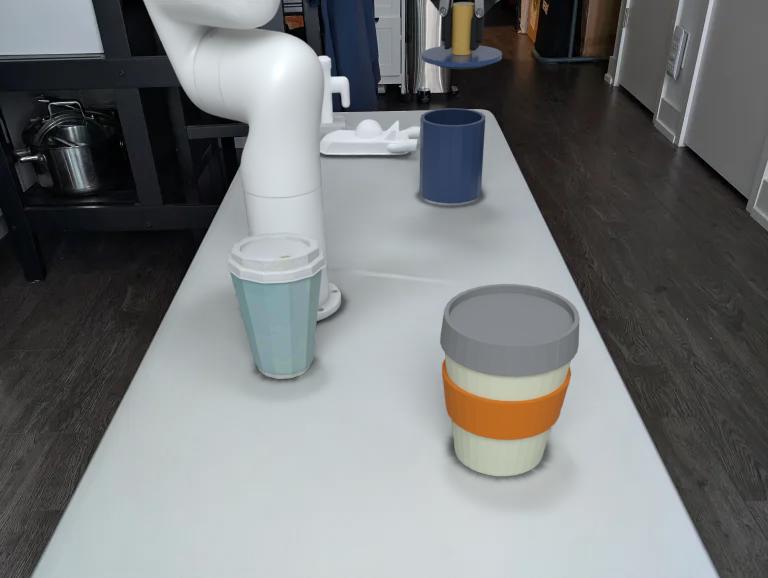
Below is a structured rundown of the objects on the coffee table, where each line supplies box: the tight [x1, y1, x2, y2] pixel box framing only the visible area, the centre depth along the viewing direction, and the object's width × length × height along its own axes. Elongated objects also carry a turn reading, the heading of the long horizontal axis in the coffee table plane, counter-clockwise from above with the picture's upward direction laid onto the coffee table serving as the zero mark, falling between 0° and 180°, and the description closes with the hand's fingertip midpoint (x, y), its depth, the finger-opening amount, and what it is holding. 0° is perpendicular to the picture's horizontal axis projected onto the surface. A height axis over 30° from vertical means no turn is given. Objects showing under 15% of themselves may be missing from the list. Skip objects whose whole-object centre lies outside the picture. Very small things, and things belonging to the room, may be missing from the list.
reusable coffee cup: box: [439, 283, 580, 477], centre depth 76 cm, size 13×12×15 cm
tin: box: [419, 107, 486, 205], centre depth 132 cm, size 10×10×12 cm
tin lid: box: [421, 1, 503, 70], centre depth 112 cm, size 11×11×7 cm
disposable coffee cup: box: [226, 232, 325, 380], centre depth 89 cm, size 11×11×15 cm
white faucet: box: [318, 55, 351, 142], centre depth 156 cm, size 7×9×15 cm
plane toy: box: [320, 118, 420, 156], centre depth 154 cm, size 10×20×6 cm, turn 84°
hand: (462, 46), depth 113 cm, fingers closed on tin lid, 3 cm apart
